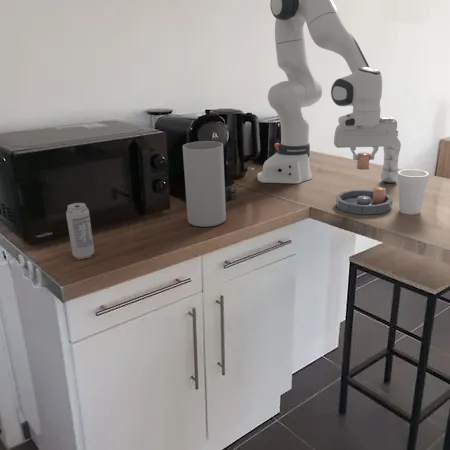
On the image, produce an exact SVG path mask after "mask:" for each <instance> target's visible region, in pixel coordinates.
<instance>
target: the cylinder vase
mask: <svg viewBox="0 0 450 450" xmlns="http://www.w3.org/2000/svg"><path fill="white" fill-rule="evenodd" d="M182 158H183V159H182V160H183V171H184V174H183V175H184V184H185V186H184V187H185V203H186V214H187V222H188V223H189V224H190V225H192V226H193V227H198V226H199V227H200V228H210V227H215V226H218V225H221V224H223V223H224V222H225V221H226V220H227V210H226V208H227V207H226V188H225V187H226V186H225V185H226V183H225V162H224V159H225V157H224V143H223V142H220V141H212V140H201V141H200V140H199V141H193V142H187V143H185V144H182Z"/></svg>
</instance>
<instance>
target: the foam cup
mask: <svg viewBox="0 0 450 450" xmlns="http://www.w3.org/2000/svg"><path fill="white" fill-rule="evenodd" d="M429 178H430V173H429V172H428V171H425V170H422V169H413V168H411V169H409V168H408V169H400V170H398V177H397V185H398V205H399V206H398V207H399V212H400V213H402V214H404V215H410V216H411V215H418V214H419V213H421V209H422V205H423V201H424V197H425V193H426V190H427V184H428V182H429Z"/></svg>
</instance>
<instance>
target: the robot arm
mask: <svg viewBox="0 0 450 450" xmlns="http://www.w3.org/2000/svg"><path fill="white" fill-rule="evenodd" d="M269 5H270V11H271V14H272V15H273V17H274V18H275V23H274V41H275V42H274V43H275V50H276V61H277V66H278V67H279V68H280V69H281V71H283V72H284V74H285V75H286V78H287V80H284V81H280V82H278V83H276V84H274V85H272V86H271V87H270V88H269V90H268V93H267V101H268V104H269V106H270V107H271V108H272V109H273V110H274V111H275V112H276V114H277V116H278V120H279V124H280V135H281V136H280V140H281V141H280V143H278V142H276V143H274V148H275V151H276V152H275V153H274V154H273V155H272V156H270V157H269V158H267V160H265V161H264V163H263V166H262V171H260V172H258V174H257V175H256V177H257V178H256V180H257V181H259V182H260V183H264V184H268V183H269V184H300V183H302V182H305V181H309V180H311V179H312V178H313V176H312V172H311V166H310V154H311V144H310V143H309V141H310V139H309V138H310V123H309V122H308V121H307V120H306V119H304V117H303V113H302V108H306V107H311V106H312V105H314V104H316V103H318V102H319V101H320V100H321V98H322V97H323V96H322V95H323V89H322V85H321V83H320V82H319V81H318V80H317V79H316V78H315V77H314V75H313V72H312V71H311V68H310V66H309V63H308V59H307V58H308V57H307V51H306V44H305V43H306V42H305V33H304V26H305V23H306V25H307V29H308V33H309V35H310V37H311V40H312V41H313V42H314V44H315V45H316V46H317V47H319V48H321V49H323V50H327V51H331V52H333V53H335V54H338V55H340V56H341V57H342V58H343V59H344V60H345V62H346V64H347V66H348V68H349V70H350V72H351V73H350V74H348V75H347V76H344V77H343V76H342V77H339V78H337V79H335V81H334V82H333V84H332V85H331V89H330V96H331V99H332V101H333V103H334V104H335V105H336V106H339V107H351V106H352V112H351V113H348V114H345V115H342V116H339V117H338V119H337V120H338V125H337V126H336V128H335V130H334V137H333V145H334V146H335V147H336V148H337V149H339V148H340V149H343V148H345V149H346V148H347V149H348V148H349V149H350V151H351V153H352V160H353V161H357V160H358V157H359V155H358V153H356V152H355V151H356V150H357V148H372V149H373V150H372V152H371V153H369V154H370V159H369V161H371V160H372V161H374V160H375V155H376V154H377V152H378V151H379V147H381V148H382V147H383V148H384V146H394V145H395V144H396V130H398V129H397V128H398V121H397V120H396V119H394V118H393V117H389V118H386V117H382V118H381V110H382V109H381V105H380V104H381V99H382V94H383V77H382V73H381V70H379V69H377V68H374V67H370V65H369V63H368V61H367V59H366V57H365V55H364V53H363V51H362V49H361V47H360V45H359V43H358V42H357V39H355V37H354V36H353V35H352V34H351V33H350V31H349V30H348V29H347V28H346V26H345V25H344V23H343V21H342V18H341V17H340V15H339V12H338V9H337V6H336V4H335V3H334V1H333V0H270V4H269Z"/></svg>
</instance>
